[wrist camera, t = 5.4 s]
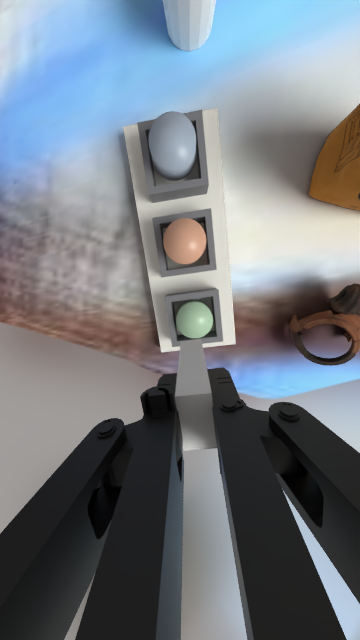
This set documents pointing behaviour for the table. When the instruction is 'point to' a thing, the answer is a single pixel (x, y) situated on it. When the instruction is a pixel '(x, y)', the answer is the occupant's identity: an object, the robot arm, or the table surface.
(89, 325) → the table surface
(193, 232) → the terracotta button
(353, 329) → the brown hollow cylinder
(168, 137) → the slate button
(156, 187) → the button panel
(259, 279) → the table surface
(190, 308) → the sage button
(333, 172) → the coffee package
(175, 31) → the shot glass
